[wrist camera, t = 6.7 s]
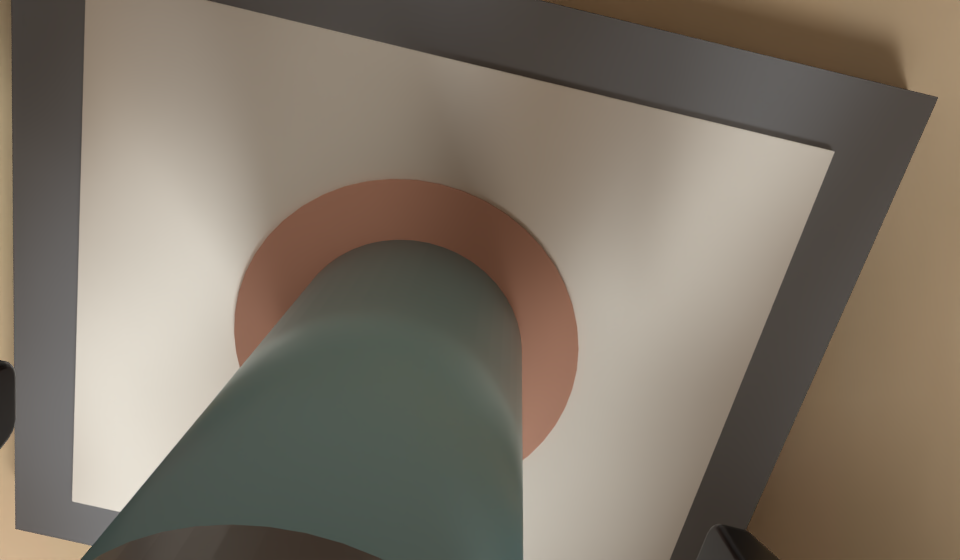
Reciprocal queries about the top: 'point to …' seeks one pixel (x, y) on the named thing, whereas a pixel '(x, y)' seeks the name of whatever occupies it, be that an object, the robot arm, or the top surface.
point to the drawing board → (438, 233)
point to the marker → (354, 428)
